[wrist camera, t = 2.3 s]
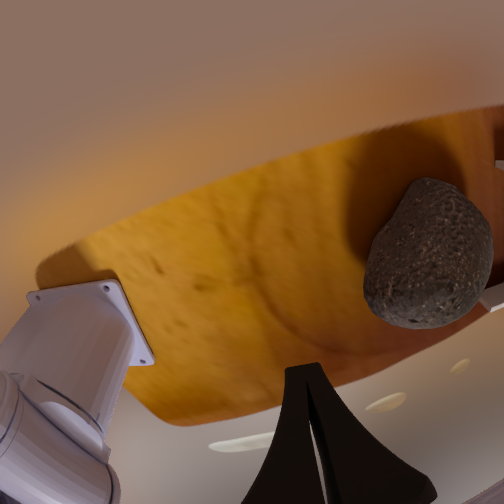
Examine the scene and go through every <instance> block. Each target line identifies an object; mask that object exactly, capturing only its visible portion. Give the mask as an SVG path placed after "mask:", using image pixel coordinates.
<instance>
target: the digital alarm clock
mask: <svg viewBox="0 0 504 504" xmlns="http://www.w3.org/2000/svg"><path fill="white" fill-rule="evenodd" d="M495 167H497V168H499V169H502V170H504V160H495ZM479 301H480V302H481V303H482V304H483V306H484V307H485V308H486V309H487V310H488V311H489V312H493V311H495V310H497V309H500V308H502V307H504V281H503V283H501V284H498V285H496V286H493V287H490V288H487V289H485V290H484V291H483V293H482V295H481V297H480V298H479Z"/></svg>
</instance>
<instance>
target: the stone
mask: <svg viewBox="0 0 504 504" xmlns="http://www.w3.org/2000/svg"><path fill="white" fill-rule="evenodd" d="M493 255H494V250H493V237H492V233H491V229H490V226H489V223H488V222H487V220H486V219H485V218H484V216H483V215H482V213H481V211H479V210H478V209H477V208H476V207H475V205H474V204H473V203H472V202H471V201H470V200H468V199H467V198H466V197H465V195H464V194H463V193H462V192H460V190H459V189H458V188H457V187H456V186H454V185H452V184H449V183H447V182H444V181H441V180H438V179H434V178H427V177H423V178H420V179H418V180H415V181H413V182H412V183H411V185H410V186H409V188H408V189H407V191H406V193H405V195H404V197H403V199H402V200H401V202H400V204H399V206H398V208H397V209H396V211H395V213H394V214H393V216H392V217H391V218H390V220H389V221H388V222H387V223H386V224H385V225H384V226H383V228H382V229H381V230H380V231H379V232H378V234H377V235H376V236H375V237H374V239H373V242H372V246H371V250H370V253H369V257H368V261H367V265H366V270H365V276H364V283H363V290H364V298H365V299H366V301H367V303H368V306H369V308H370V309H371V311H372V312H373V313H374V314H375V315H376V316H378V317H379V318H381V319H383V320H384V321H386V322H388V323H389V324H391V325H397V326H399V327H404V328H410V329H430V328H437V327H442V326H445V325H447V324H449V323H451V322H453V321H455V320H457V319H459V318H460V317H462V316H464V315H465V314H467V313H468V312H469V311H470V310H471V309H472V308H473V307H474V306H475V304H476V303H477V302H478V300H479V298H480V297H481V295H482V293H483V291H484V288H485V286H486V284H487V282H488V279H489V276H490V273H491V268H492V262H493Z"/></svg>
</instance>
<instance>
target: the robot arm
mask: <svg viewBox="0 0 504 504" xmlns="http://www.w3.org/2000/svg"><path fill="white" fill-rule="evenodd" d="M105 285H106V286H108V287H109V288H110V289H108V288H106V287H105ZM26 297H27V300H28V302H29V304H30V307H29V308H28V309H27V310H26V312H25V313H24V314H23V315H22V317H21V318H20V319H19V321H18V322H17V323H16V324H15V326H14V327H13V328H12V329H11V331H10V332H9V333H8V335H7V336H6V337H5V339H4V340H3V341H2V343H1V344H0V504H119V503H120V497H121V490H120V483H119V479H118V477H117V475H116V472H115V471H114V469H113V468H112V467H111V466H110V465H109V464H108V460H109V456H110V452H111V449H110V448H109V447H108V446H107V445H106V444H105V438H106V435H107V431H108V428H109V425H110V421H111V418H112V415H113V412H114V408H115V406H116V402H117V399H118V396H119V393H120V390H121V387H122V384H123V381H124V378H125V375H126V373H127V370H128V367H129V366H143V365H153V364H154V362H155V358H154V356H153V354H152V352H151V350H150V348H149V346H148V344H147V342H146V340H145V338H144V336H143V334H142V332H141V330H140V328H139V326H138V323H137V321H136V319H135V317H134V315H133V313H132V310H131V308H130V306H129V304H128V301H127V299H126V297H125V295H124V292H123V290H122V288H121V285H120V283H119V282H118V281H117V280H115V279H107V280H101V281H95V282H88V283H82V284H76V285H69V286H63V287H57V288H50V289H44V290H38V291H31V292H29V293H28V294H27V295H26ZM142 359H143V360H142ZM309 420H310V422H309ZM310 424H311V427H312V431H313V434H314V438H315V441H316V445H317V448H318V452H319V456H320V459H321V464H322V469H323V475H324V481H325V487H326V495H327V501H328V504H430V503H431V502H433V501H434V500H435V499H436V498H437V492H436V489H435V487H434V486H433V484H432V482H431V481H430V479H429V478H428V477H427V476H426V475H424V474H423V473H421V472H419V471H418V470H416V469H414V468H413V467H411V466H410V465H408V464H407V463H405V462H404V461H403V460H401V459H400V458H398V457H397V456H396V455H395V454H393V453H392V452H391V451H390V450H388V449H387V448H386V447H385V446H383V445H382V444H381V443H380V442H379V441H378V440H377V439H376V438H375V437H374V436H373V435H372V434H371V433H370V432H368V430H366V428H364V426H363V425H362V424H361V423H360V422H359V421H358V420H357V419H356V417H355V416H354V415H353V414H352V413H351V411H350V410H349V409H348V408H347V406H346V405H345V404H344V402H343V401H342V400H341V398H340V397H339V395H338V394H337V393H336V391H335V390H334V388H333V386H332V385H331V383H330V382H329V380H328V378H327V377H326V375H325V373H324V371H323V369H322V367H321V365H320V363H318V362H316V363H310V364H305V365H299V366H293V367H287V368H286V369H285V388H284V396H283V402H282V408H281V412H280V417H279V420H278V424H277V428H276V431H275V434H274V437H273V440H272V443H271V446H270V448H269V451H268V454H267V456H266V458H265V460H264V463H263V465H262V467H261V469H260V471H259V473H258V475H257V477H256V479H255V481H254V483H253V485H252V486H251V488H250V490H249V491H248V493H247V495H246V496H245V498H244V500H243V501H242V502H241V504H325V500H324V496H323V491H322V486H321V481H320V476H319V471H318V466H317V461H316V457H315V452H314V447H313V441H312V436H311V431H310ZM462 504H504V478H503V479H502V480H500V481H499V482H497V483H496V484H494V485H493V486H491V487H490V488H488V489H487V490H485V491H483V492H482V493H480V494H478V495H477V496H475V497H473V498H471V499H470V500H468V501H466V502H464V503H462Z"/></svg>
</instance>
